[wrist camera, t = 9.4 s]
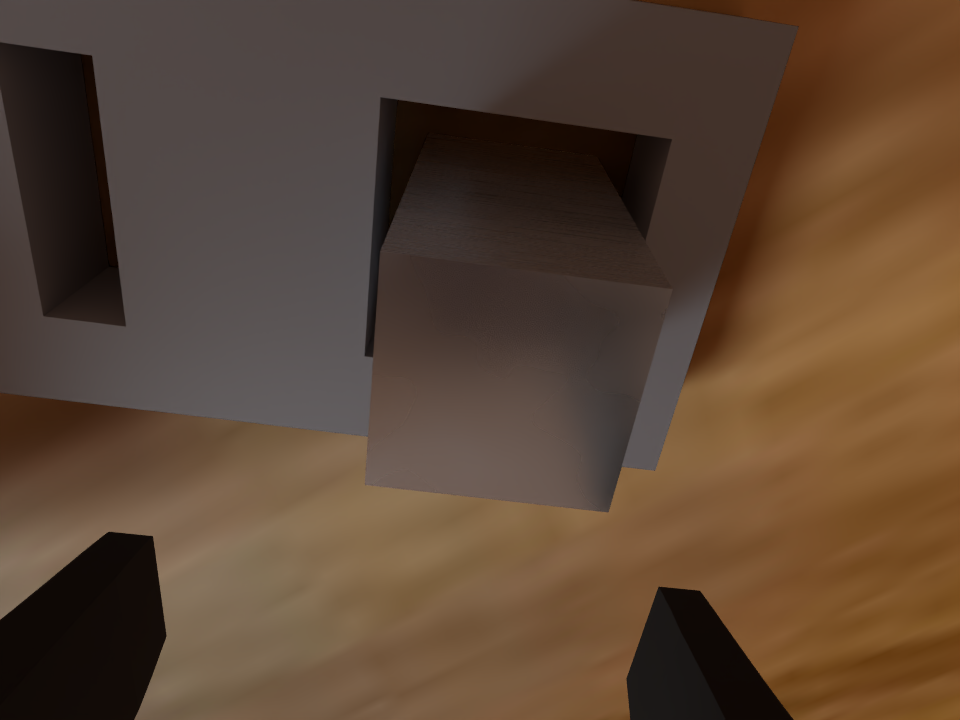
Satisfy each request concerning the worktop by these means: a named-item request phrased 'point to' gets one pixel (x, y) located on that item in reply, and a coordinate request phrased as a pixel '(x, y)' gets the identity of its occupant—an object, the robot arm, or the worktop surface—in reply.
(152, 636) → the robot arm
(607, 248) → the peg
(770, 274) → the worktop surface
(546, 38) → the socket plate
